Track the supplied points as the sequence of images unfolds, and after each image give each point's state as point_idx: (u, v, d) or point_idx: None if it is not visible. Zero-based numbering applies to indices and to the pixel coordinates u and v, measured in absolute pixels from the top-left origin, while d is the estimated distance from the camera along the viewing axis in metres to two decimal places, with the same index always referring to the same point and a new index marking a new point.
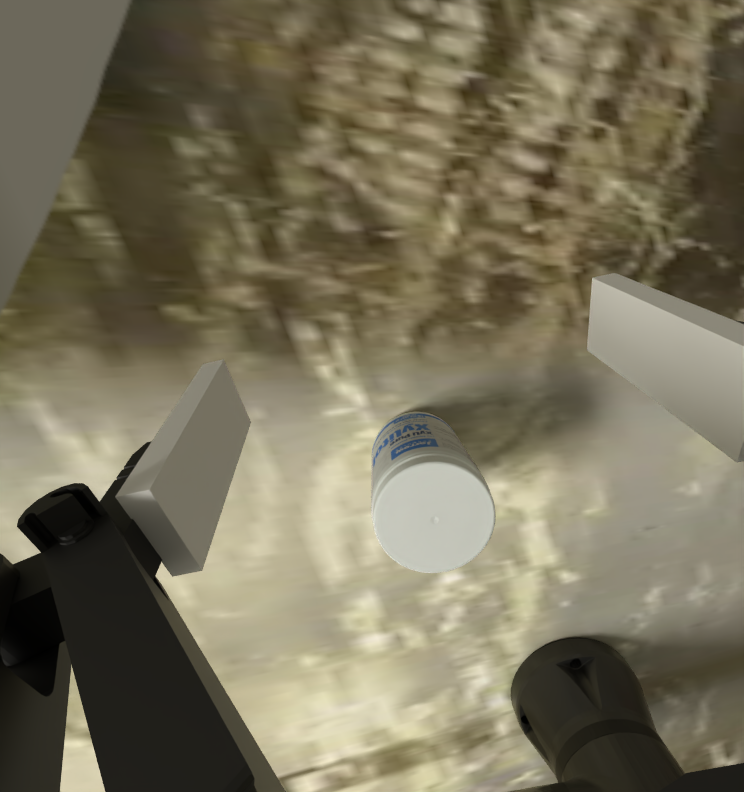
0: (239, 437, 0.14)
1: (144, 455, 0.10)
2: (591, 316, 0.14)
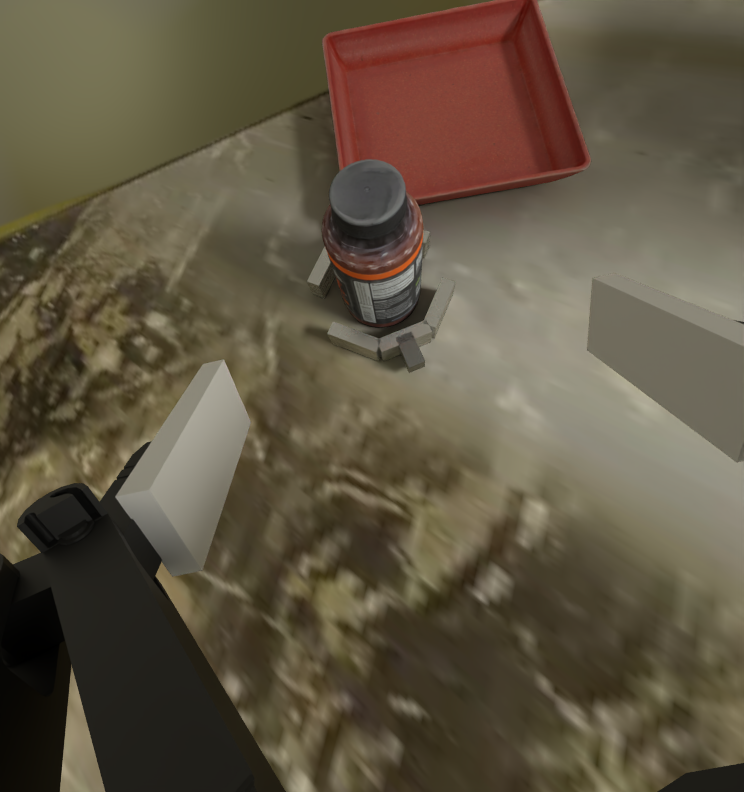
0: (239, 437, 0.14)
1: (144, 455, 0.10)
2: (591, 316, 0.14)
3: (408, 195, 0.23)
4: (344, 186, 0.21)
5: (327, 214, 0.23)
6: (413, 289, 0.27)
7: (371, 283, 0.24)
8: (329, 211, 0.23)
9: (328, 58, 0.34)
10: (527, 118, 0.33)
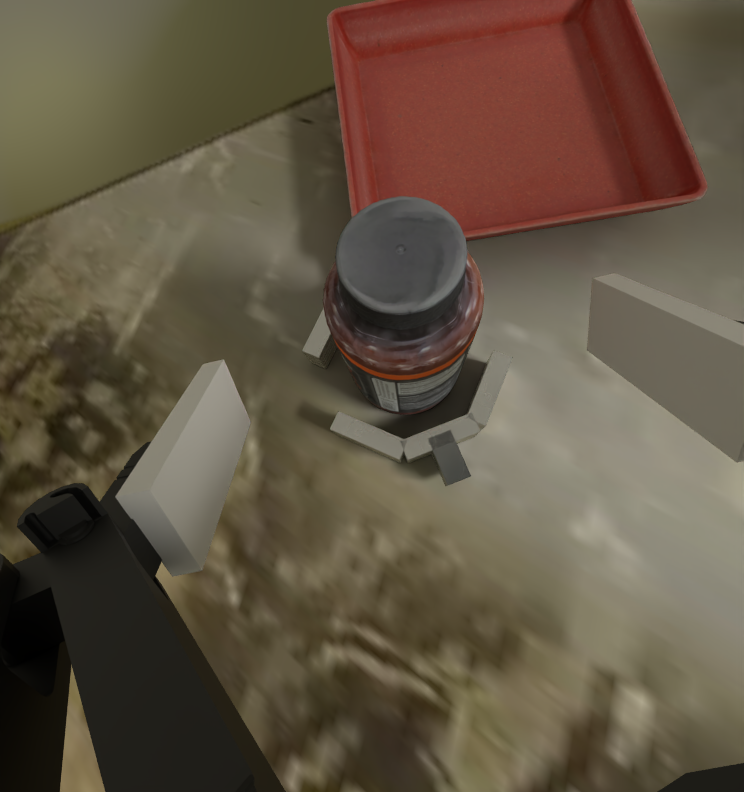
0: (239, 437, 0.14)
1: (144, 455, 0.10)
2: (591, 316, 0.14)
3: None
4: (362, 243, 0.12)
5: (331, 278, 0.15)
6: (456, 375, 0.19)
7: (399, 382, 0.15)
8: (335, 273, 0.15)
9: (334, 41, 0.25)
10: (602, 124, 0.24)
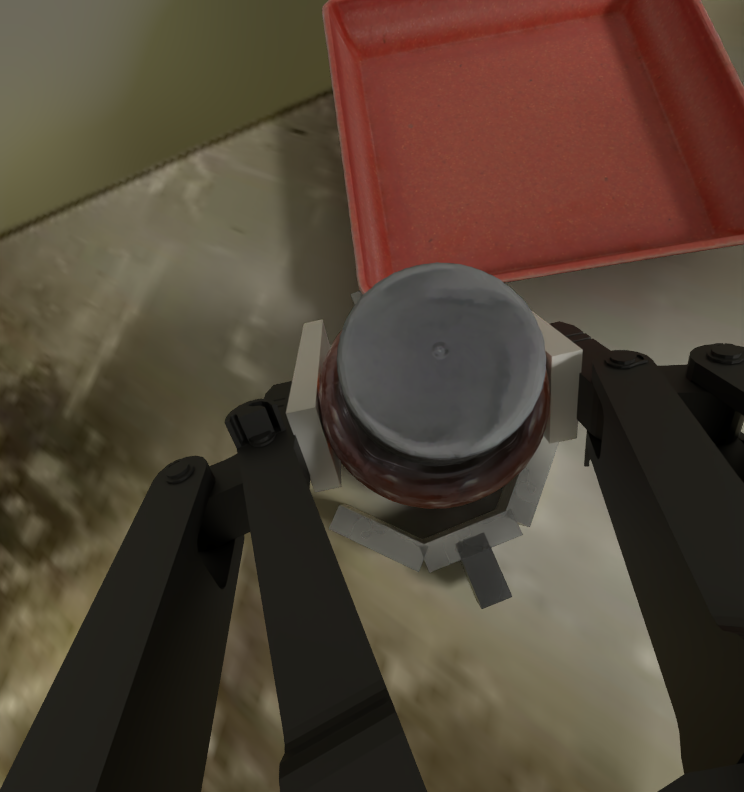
0: None
1: (293, 386, 0.11)
2: None
3: None
4: (378, 339, 0.08)
5: (330, 367, 0.10)
6: None
7: None
8: (335, 361, 0.10)
9: (332, 37, 0.21)
10: (658, 136, 0.20)
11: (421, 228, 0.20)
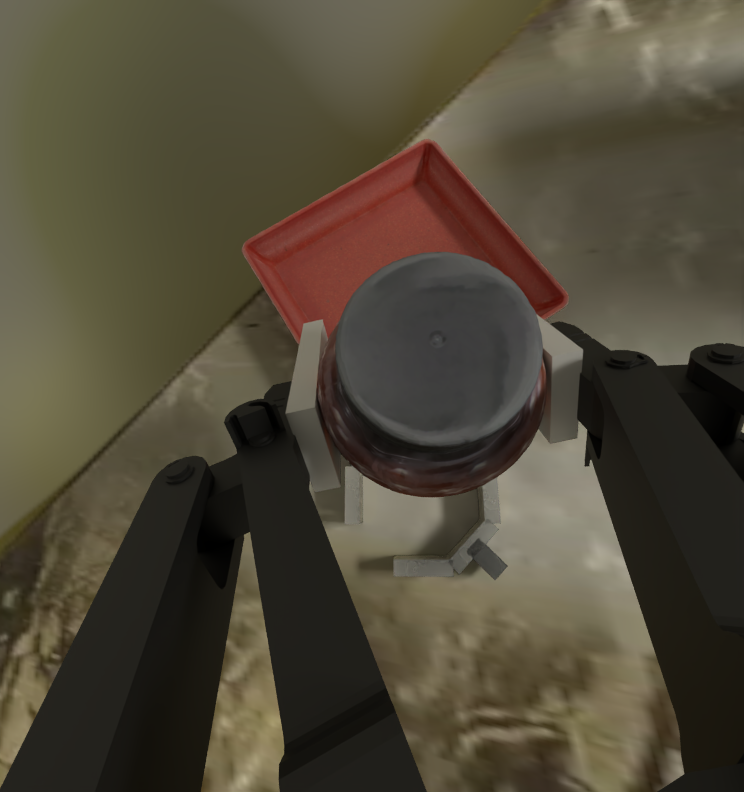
0: None
1: (292, 386, 0.11)
2: None
3: None
4: (375, 335, 0.08)
5: (326, 369, 0.10)
6: None
7: None
8: (331, 362, 0.10)
9: (257, 269, 0.31)
10: (476, 257, 0.32)
11: None
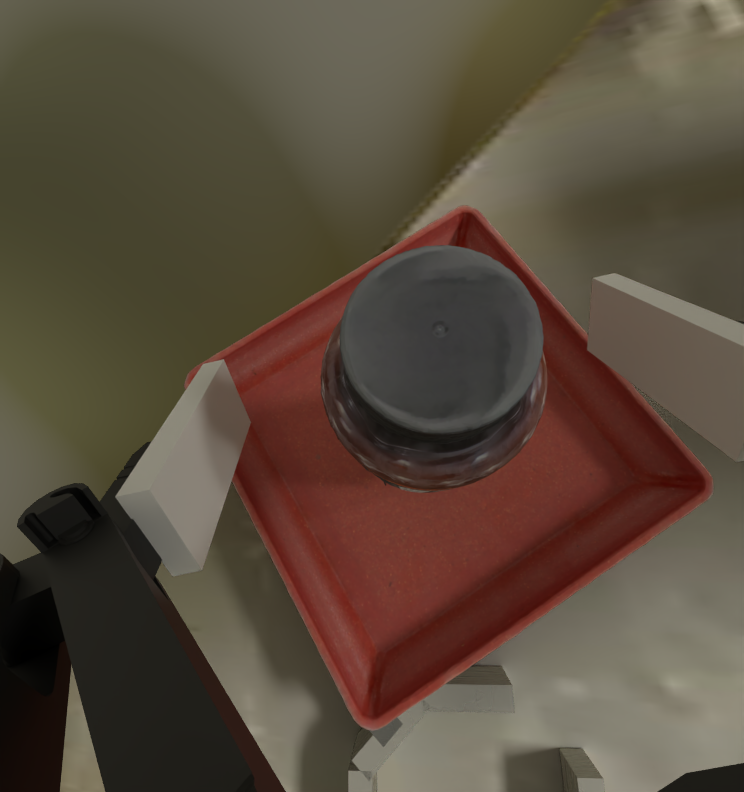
0: (239, 437, 0.14)
1: (144, 455, 0.10)
2: (591, 316, 0.14)
3: None
4: (378, 325, 0.08)
5: (330, 362, 0.10)
6: None
7: (438, 490, 0.11)
8: (335, 356, 0.10)
9: None
10: None
11: (376, 574, 0.20)
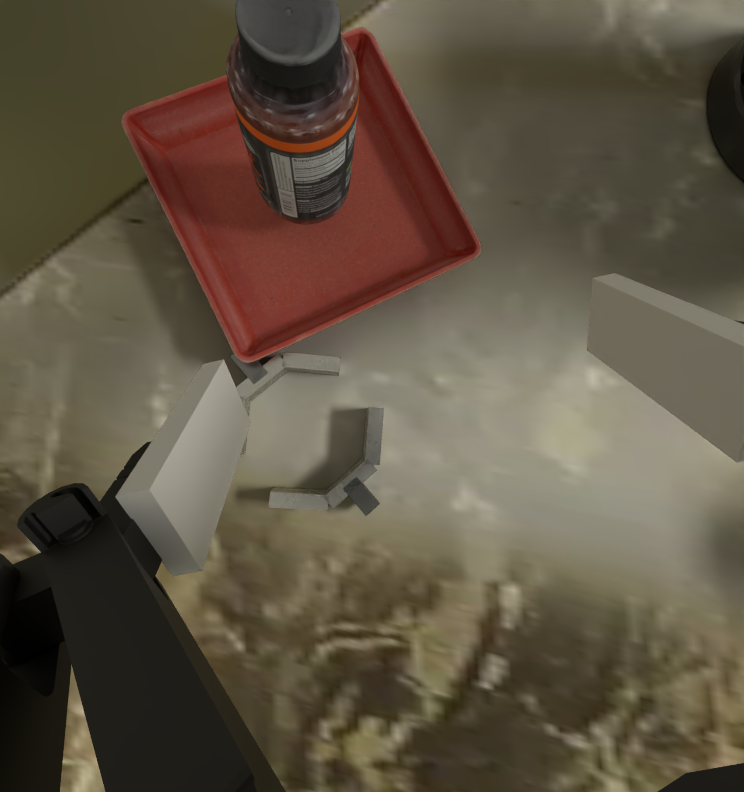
0: (239, 437, 0.14)
1: (144, 455, 0.10)
2: (591, 316, 0.14)
3: (342, 38, 0.18)
4: (257, 1, 0.15)
5: (233, 49, 0.17)
6: (343, 176, 0.23)
7: (293, 157, 0.19)
8: (236, 44, 0.17)
9: (140, 151, 0.26)
10: (399, 186, 0.30)
11: (262, 291, 0.28)
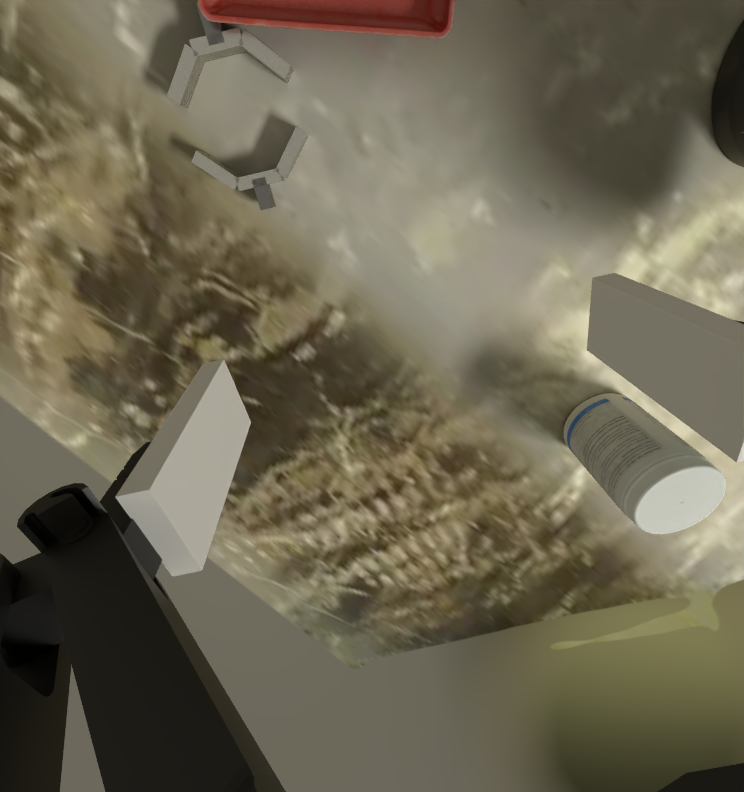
0: (239, 437, 0.14)
1: (144, 455, 0.10)
2: (591, 316, 0.14)
3: None
4: None
5: None
6: None
7: None
8: None
9: None
10: None
11: None
